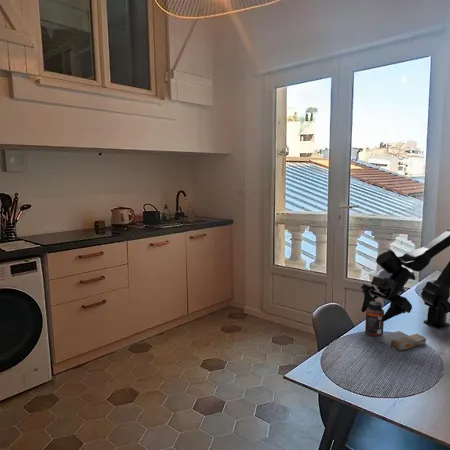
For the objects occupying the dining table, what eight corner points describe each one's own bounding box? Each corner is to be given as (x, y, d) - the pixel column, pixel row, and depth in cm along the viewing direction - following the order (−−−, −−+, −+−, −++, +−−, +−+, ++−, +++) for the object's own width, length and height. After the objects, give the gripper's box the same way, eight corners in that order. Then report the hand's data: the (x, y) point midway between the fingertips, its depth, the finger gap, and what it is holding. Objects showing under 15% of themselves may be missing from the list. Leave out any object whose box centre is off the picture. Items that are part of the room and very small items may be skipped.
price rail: (416, 339, 129) (416, 333, 129) (426, 344, 125) (426, 338, 125) (390, 347, 124) (391, 340, 124) (400, 352, 120) (401, 345, 120)
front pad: (399, 331, 135) (399, 330, 135) (416, 339, 129) (416, 338, 129) (374, 338, 130) (374, 337, 130) (390, 347, 124) (390, 346, 124)
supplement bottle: (384, 337, 131) (386, 306, 129) (366, 336, 132) (368, 305, 130) (381, 330, 136) (382, 300, 135) (363, 329, 138) (365, 299, 136)
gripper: (365, 262, 141) (341, 295, 138) (408, 275, 124) (382, 312, 121) (379, 279, 145) (356, 312, 142) (423, 294, 128) (398, 331, 125)
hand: (372, 316), depth 133 cm, fingers open, 9 cm apart
